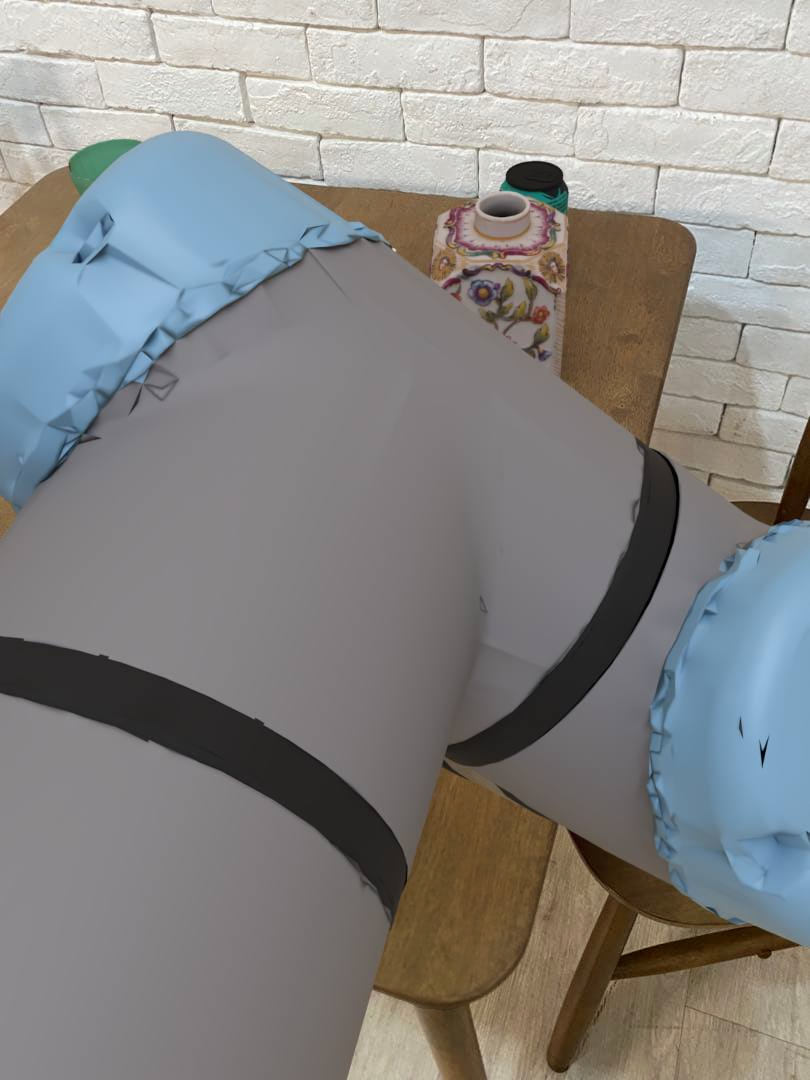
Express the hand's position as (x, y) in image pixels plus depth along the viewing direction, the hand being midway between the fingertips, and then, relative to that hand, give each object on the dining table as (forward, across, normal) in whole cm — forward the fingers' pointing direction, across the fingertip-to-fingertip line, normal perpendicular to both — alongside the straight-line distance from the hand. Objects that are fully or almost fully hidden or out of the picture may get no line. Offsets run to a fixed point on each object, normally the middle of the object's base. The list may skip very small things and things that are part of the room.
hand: (331, 632), depth 52 cm
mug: (+64, +13, +42) cm, 77 cm away
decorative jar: (+32, +33, +10) cm, 47 cm away
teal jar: (+41, +45, +18) cm, 63 cm away
